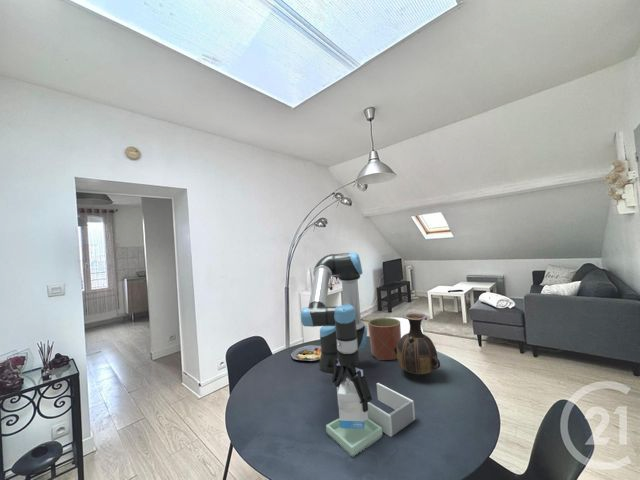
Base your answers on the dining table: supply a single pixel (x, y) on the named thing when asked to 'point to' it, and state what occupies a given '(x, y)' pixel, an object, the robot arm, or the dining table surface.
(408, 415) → the dock
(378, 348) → the planter
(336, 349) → the robot arm
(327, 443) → the dining table surface
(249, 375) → the dining table surface
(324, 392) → the dining table surface
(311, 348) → the food plate
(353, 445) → the tray
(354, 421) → the ink box
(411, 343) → the vase
